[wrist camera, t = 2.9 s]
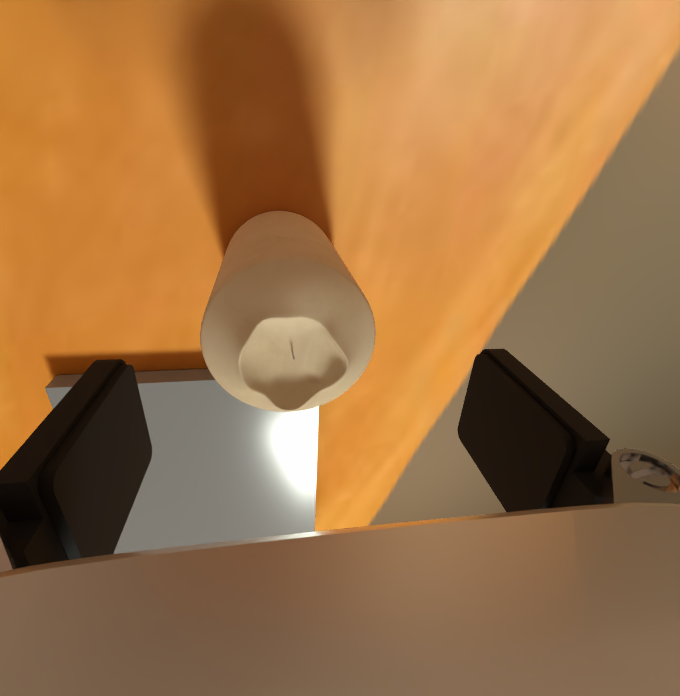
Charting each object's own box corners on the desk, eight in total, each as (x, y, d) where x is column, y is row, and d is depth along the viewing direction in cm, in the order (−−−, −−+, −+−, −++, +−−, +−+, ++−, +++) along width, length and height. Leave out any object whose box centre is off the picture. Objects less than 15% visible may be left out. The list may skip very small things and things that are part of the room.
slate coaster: (56, 375, 20) (45, 388, 19) (317, 364, 22) (319, 374, 21) (117, 540, 27) (110, 556, 26) (312, 517, 29) (314, 531, 28)
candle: (344, 220, 19) (411, 289, 10) (324, 320, 21) (364, 444, 13) (229, 198, 17) (194, 257, 9) (222, 308, 20) (189, 438, 11)
